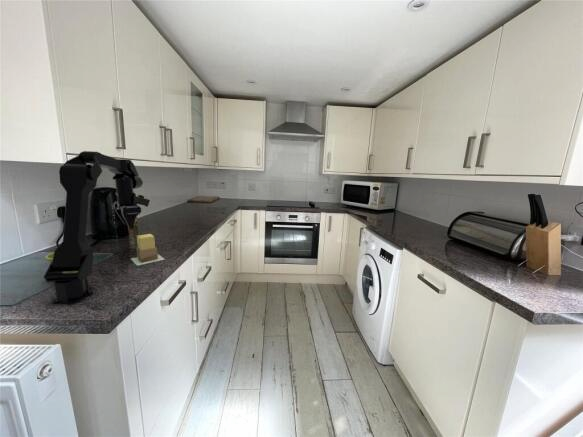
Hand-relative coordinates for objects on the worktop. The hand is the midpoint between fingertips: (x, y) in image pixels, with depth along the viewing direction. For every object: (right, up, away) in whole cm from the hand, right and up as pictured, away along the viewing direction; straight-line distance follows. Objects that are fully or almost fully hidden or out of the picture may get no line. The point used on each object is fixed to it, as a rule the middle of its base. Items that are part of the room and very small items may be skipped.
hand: (128, 226), depth 100 cm
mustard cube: (+9, -8, -3) cm, 13 cm away
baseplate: (+9, -14, -2) cm, 17 cm away
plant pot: (-8, -17, -19) cm, 26 cm away
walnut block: (+9, -13, -2) cm, 16 cm away
